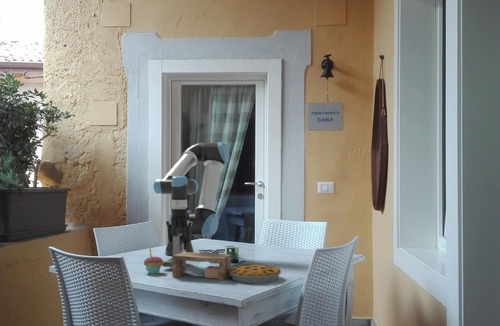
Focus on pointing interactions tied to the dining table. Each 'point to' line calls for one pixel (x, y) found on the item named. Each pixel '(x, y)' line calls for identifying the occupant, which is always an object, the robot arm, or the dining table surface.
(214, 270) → the block
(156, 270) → the cupcake
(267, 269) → the pie
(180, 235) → the hook tool
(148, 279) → the dining table surface
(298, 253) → the dining table surface
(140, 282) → the dining table surface
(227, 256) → the shelf
